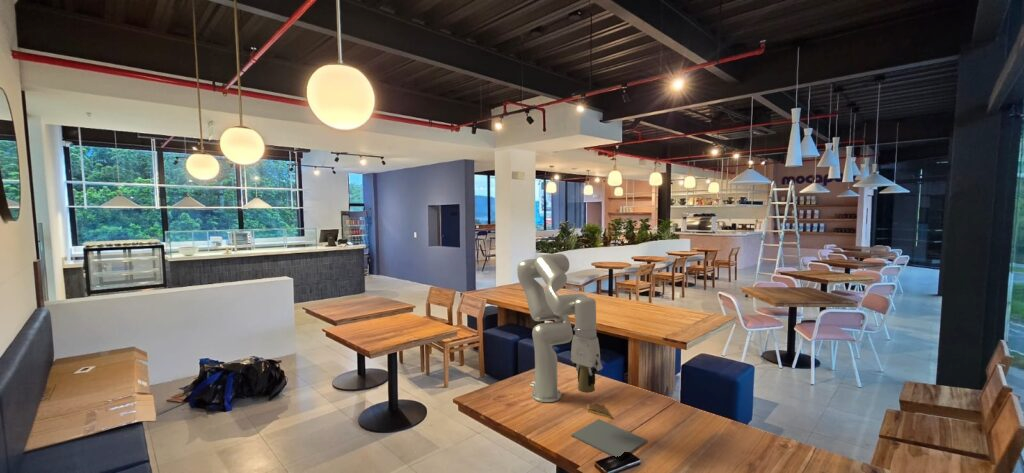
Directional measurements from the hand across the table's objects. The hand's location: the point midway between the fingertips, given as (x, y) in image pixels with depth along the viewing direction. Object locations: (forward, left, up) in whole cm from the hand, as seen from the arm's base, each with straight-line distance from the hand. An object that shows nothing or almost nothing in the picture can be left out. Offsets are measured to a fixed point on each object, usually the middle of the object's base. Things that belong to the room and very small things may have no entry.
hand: (586, 382), depth 151 cm
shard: (-6, +16, -18) cm, 25 cm away
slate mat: (+8, +1, -18) cm, 20 cm away
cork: (0, 0, -2) cm, 2 cm away
